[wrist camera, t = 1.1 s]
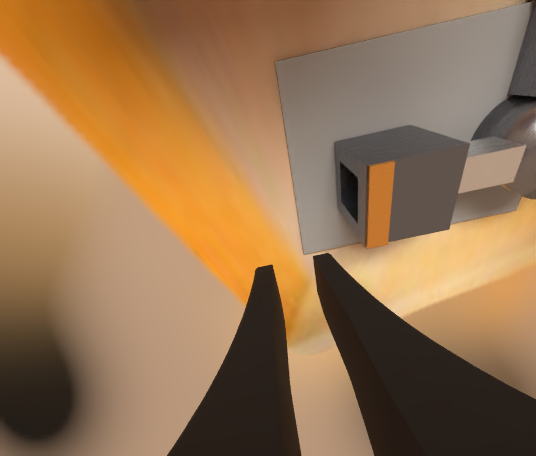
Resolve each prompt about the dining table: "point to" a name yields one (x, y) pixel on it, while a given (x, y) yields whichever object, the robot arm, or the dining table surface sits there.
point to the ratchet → (508, 132)
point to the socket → (398, 183)
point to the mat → (395, 106)
